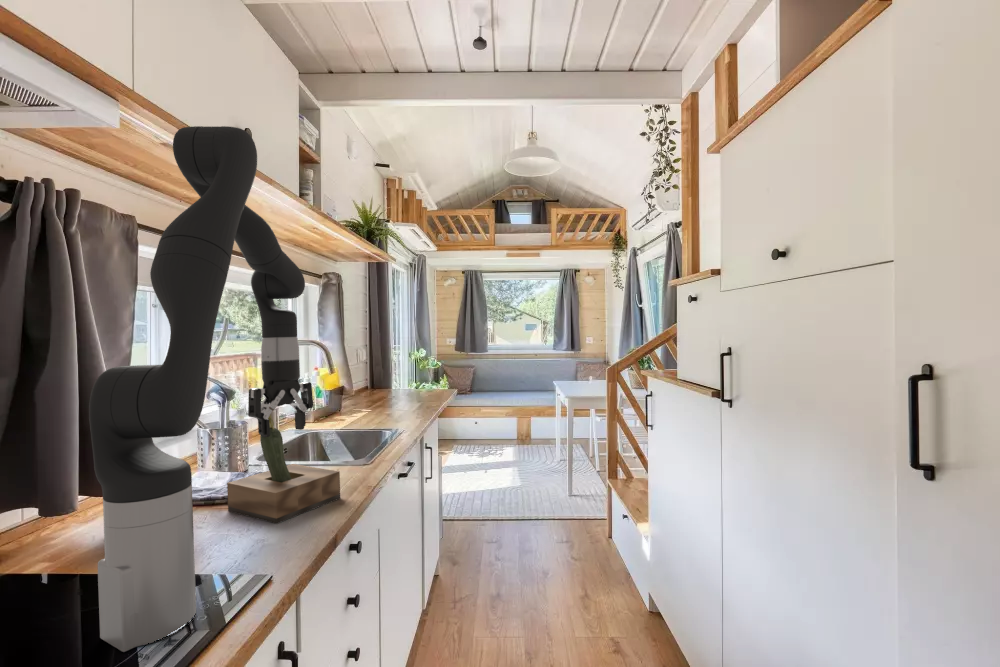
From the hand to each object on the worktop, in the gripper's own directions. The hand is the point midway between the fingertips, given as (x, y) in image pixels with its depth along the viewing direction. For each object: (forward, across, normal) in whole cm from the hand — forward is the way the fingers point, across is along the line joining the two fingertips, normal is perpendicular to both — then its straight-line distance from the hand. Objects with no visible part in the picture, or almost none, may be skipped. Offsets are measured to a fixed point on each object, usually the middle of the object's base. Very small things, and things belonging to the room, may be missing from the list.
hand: (283, 432), depth 106 cm
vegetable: (+15, 0, 0) cm, 15 cm away
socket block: (+16, 0, 0) cm, 16 cm away
